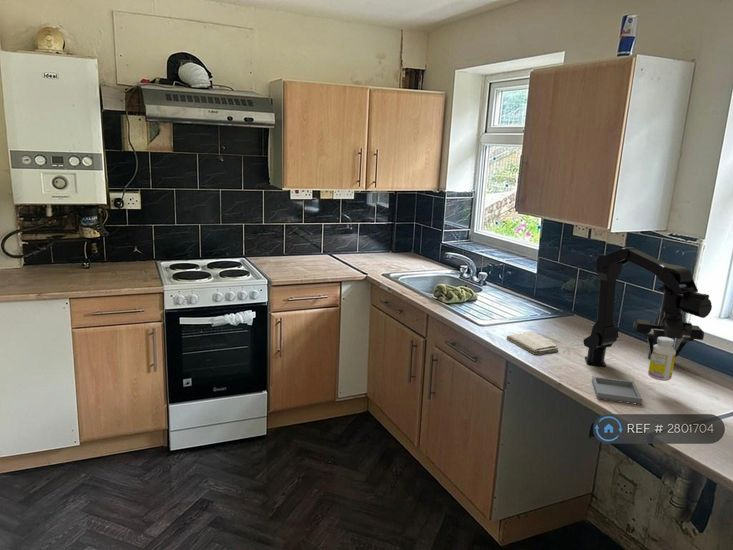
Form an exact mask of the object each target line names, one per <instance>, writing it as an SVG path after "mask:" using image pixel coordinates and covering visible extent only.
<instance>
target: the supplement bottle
mask: <svg viewBox="0 0 733 550" xmlns="http://www.w3.org/2000/svg"><path fill="white" fill-rule="evenodd" d="M674 345H675V340H674V338H672V339H671V338H668V337H658V338H657V344H656V345H654V346H653V352H652V354H651V359H649V365H648V372H647V375H648V376H649V377H650V378H652V379H654V380H656V381H663V382H665V381H666V382H668V381H670V380H671V379H672V376H673V371H674V365H675V362H676V361H675V359H676V357H675V355H676V350H675V348H674V347H673V346H674Z"/></svg>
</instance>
